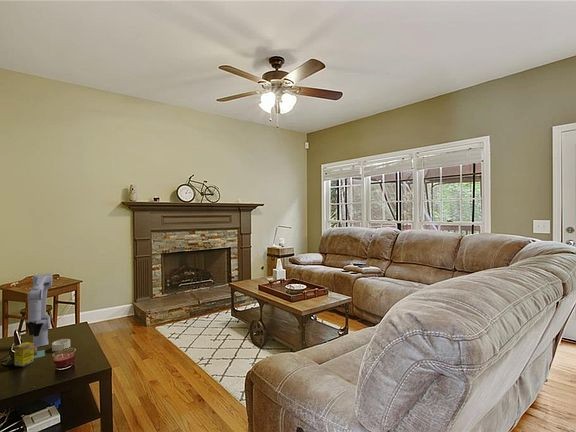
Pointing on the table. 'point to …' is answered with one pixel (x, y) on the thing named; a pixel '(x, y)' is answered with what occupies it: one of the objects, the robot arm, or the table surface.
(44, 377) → the table surface
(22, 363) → the supplement box
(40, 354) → the lid
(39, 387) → the table surface
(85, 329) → the table surface
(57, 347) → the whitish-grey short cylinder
